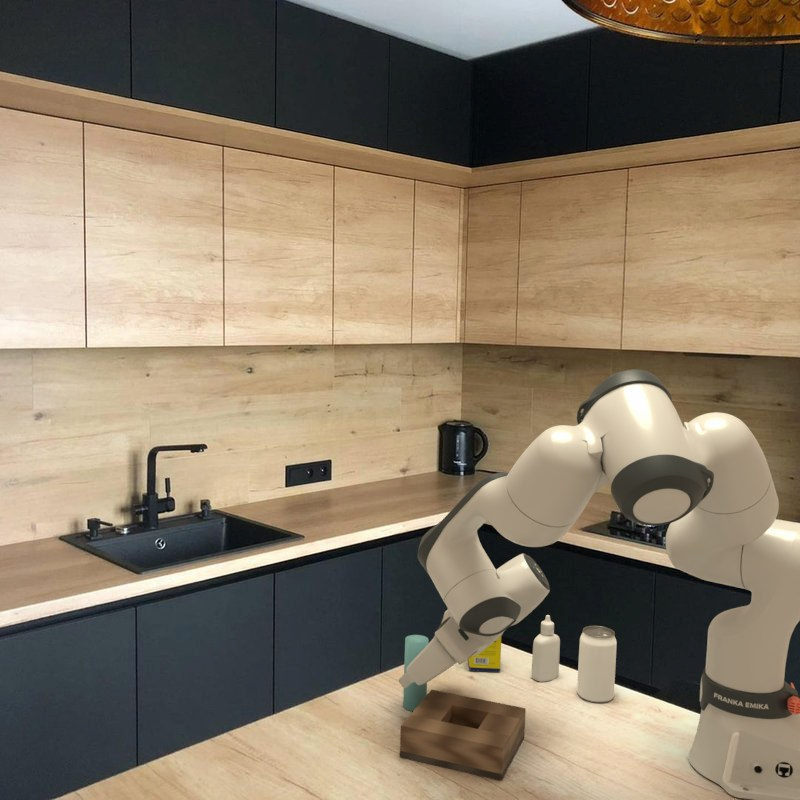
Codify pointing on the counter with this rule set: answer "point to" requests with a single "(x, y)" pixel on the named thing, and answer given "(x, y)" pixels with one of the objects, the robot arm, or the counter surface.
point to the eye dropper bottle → (546, 653)
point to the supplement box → (487, 658)
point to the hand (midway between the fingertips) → (412, 672)
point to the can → (597, 664)
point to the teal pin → (413, 691)
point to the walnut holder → (463, 734)
